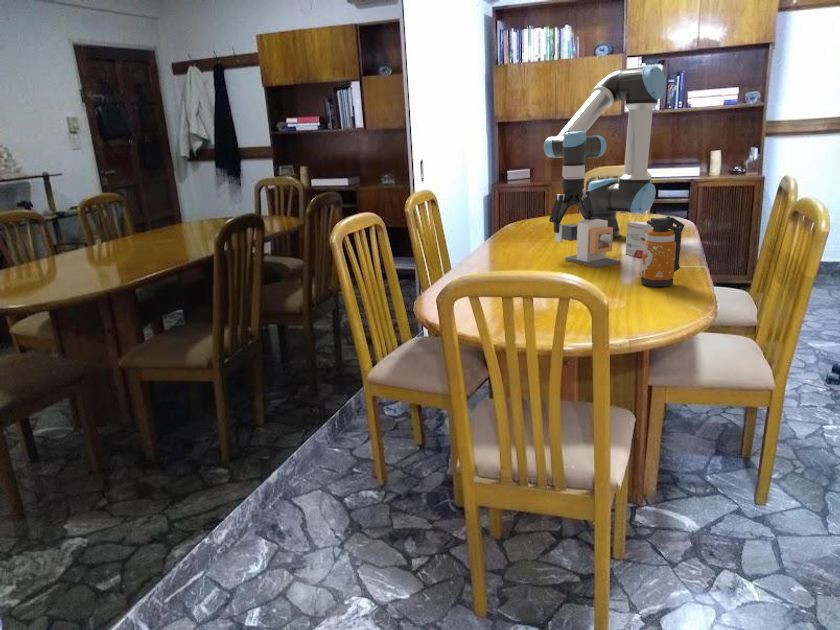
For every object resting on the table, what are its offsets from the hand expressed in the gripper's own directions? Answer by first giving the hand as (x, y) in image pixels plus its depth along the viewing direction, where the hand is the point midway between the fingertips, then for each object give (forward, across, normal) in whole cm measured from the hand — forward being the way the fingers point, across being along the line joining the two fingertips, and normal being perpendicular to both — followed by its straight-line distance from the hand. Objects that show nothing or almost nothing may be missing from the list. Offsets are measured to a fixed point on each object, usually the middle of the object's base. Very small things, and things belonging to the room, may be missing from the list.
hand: (571, 239), depth 221 cm
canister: (+7, +6, +44) cm, 45 cm away
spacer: (-2, 0, +14) cm, 14 cm away
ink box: (+7, -19, +14) cm, 25 cm away
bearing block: (+6, 0, +10) cm, 12 cm away
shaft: (0, 0, +8) cm, 8 cm away
